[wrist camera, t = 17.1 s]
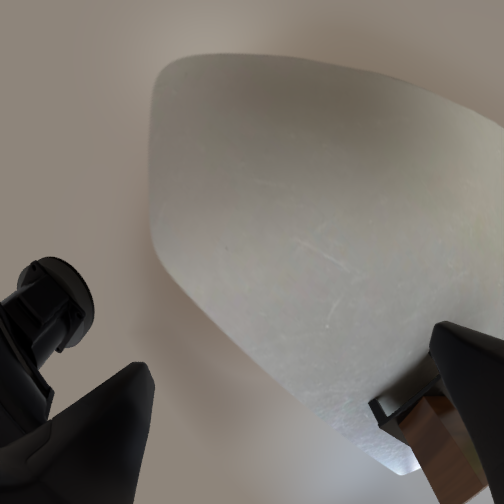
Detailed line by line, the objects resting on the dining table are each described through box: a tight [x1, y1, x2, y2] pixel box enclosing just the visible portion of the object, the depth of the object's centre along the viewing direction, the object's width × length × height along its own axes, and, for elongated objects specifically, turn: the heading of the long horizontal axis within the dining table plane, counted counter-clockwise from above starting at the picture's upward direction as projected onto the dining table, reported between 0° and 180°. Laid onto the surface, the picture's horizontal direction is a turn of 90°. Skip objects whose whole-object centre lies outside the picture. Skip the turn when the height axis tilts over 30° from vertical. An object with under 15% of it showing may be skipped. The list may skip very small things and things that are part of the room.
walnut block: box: [399, 396, 489, 504], centre depth 15 cm, size 5×5×14 cm
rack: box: [368, 352, 456, 446], centre depth 25 cm, size 10×22×6 cm, turn 44°
